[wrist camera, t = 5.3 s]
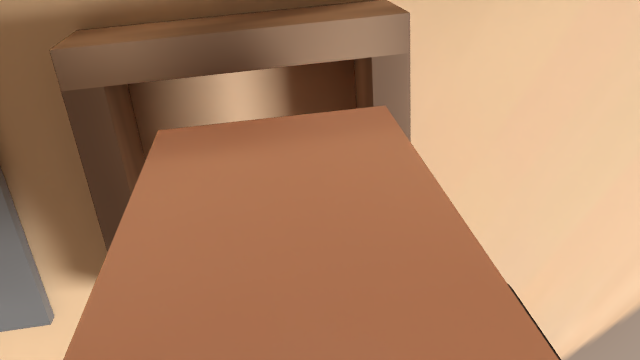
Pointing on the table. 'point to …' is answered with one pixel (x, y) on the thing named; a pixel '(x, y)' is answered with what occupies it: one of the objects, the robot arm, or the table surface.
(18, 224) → the rubber mat
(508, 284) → the robot arm
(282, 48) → the frame
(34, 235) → the table surface
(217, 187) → the peach block with tab
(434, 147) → the table surface
